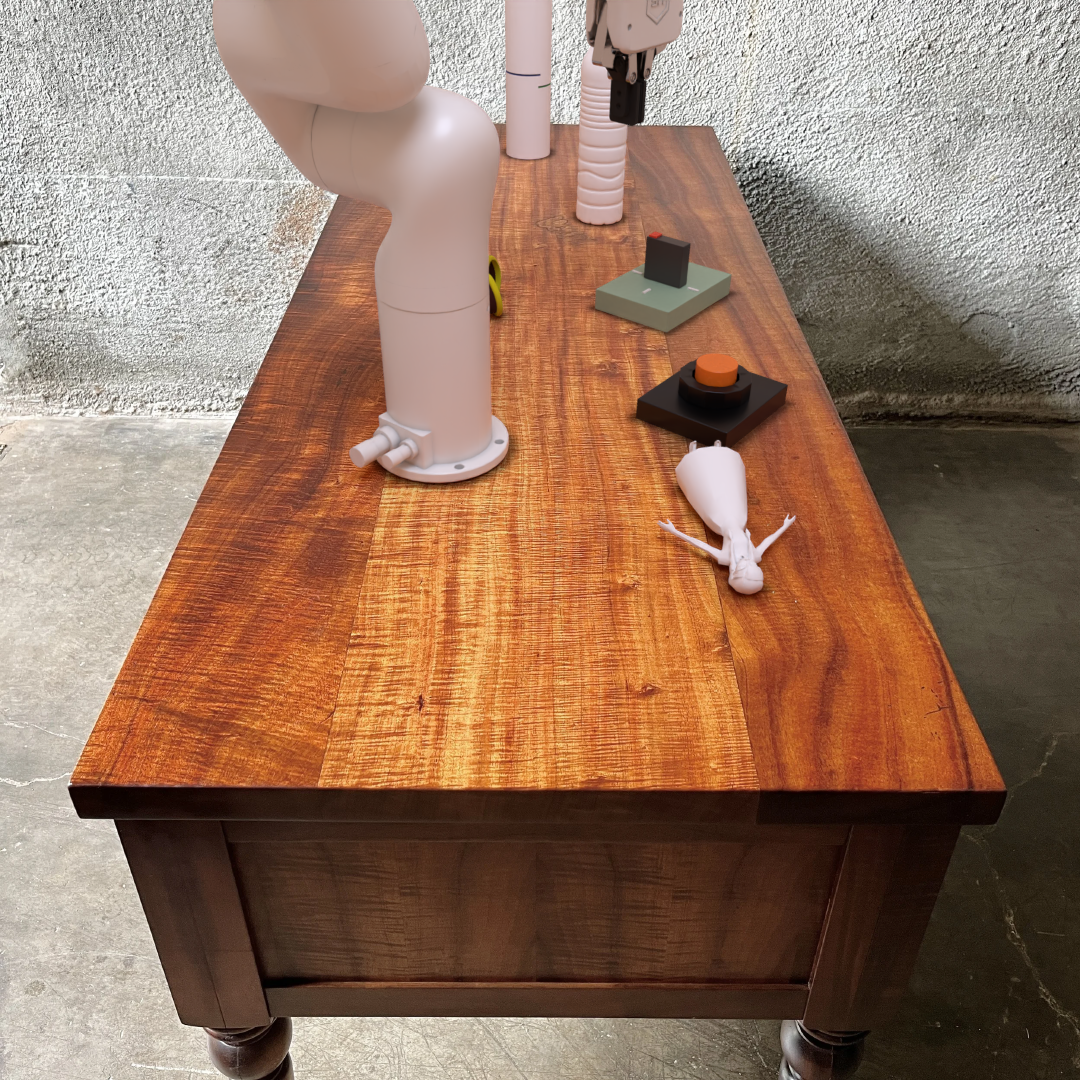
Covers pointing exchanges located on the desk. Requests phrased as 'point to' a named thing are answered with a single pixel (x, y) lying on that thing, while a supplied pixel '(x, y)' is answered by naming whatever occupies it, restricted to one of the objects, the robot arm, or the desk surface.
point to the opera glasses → (495, 287)
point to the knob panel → (662, 296)
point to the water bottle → (599, 150)
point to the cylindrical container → (528, 77)
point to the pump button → (716, 370)
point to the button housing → (711, 406)
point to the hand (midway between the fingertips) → (626, 121)
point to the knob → (666, 260)
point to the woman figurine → (723, 511)
